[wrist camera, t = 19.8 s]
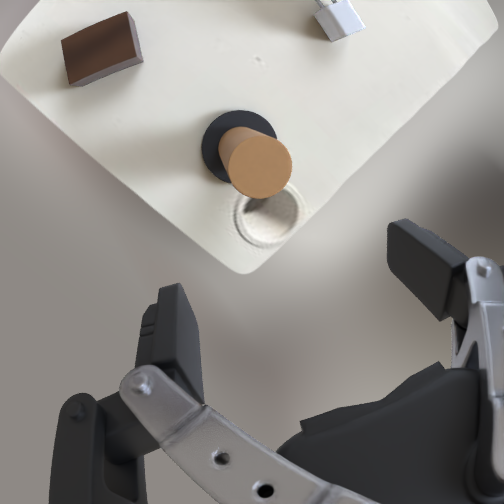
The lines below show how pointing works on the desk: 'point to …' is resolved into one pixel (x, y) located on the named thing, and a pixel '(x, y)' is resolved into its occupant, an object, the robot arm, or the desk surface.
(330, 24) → the usb wall charger
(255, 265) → the desk surface
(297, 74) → the desk surface
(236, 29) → the desk surface
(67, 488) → the robot arm
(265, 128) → the coaster
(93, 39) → the walnut block
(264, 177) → the tan cylinder
